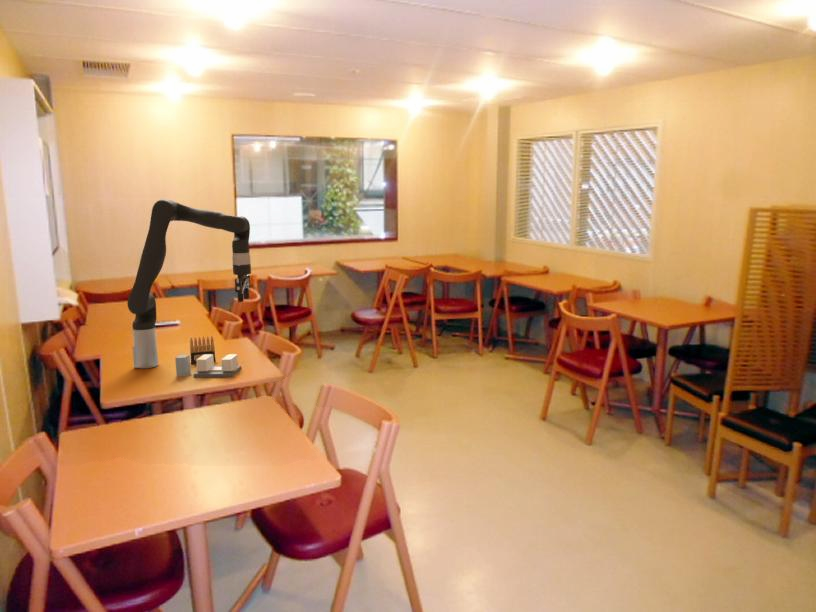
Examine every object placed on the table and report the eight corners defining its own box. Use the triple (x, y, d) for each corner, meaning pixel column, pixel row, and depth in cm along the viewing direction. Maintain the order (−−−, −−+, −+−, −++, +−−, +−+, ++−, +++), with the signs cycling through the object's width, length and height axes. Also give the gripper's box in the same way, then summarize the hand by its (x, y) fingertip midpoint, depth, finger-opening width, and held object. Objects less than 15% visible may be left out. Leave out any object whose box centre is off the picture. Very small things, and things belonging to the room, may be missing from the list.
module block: (176, 376, 252) (175, 357, 251) (181, 373, 257) (180, 354, 256) (186, 376, 252) (184, 357, 251) (190, 373, 257) (189, 354, 255)
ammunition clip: (190, 364, 272) (188, 338, 270) (190, 363, 273) (189, 337, 271) (215, 361, 275) (214, 336, 273) (215, 360, 277) (213, 335, 275)
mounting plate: (193, 377, 250) (193, 372, 249) (205, 369, 263) (204, 364, 262) (232, 377, 249) (231, 372, 249) (241, 368, 262) (241, 364, 262)
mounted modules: (197, 371, 251) (196, 359, 251) (204, 365, 260) (204, 354, 259) (231, 371, 251) (230, 359, 250) (238, 365, 260) (237, 354, 259)
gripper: (238, 261, 267) (240, 298, 270) (227, 265, 253) (230, 303, 256) (254, 261, 267) (256, 297, 270) (245, 264, 253) (247, 302, 256)
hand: (243, 300), depth 263 cm, fingers open, 8 cm apart
